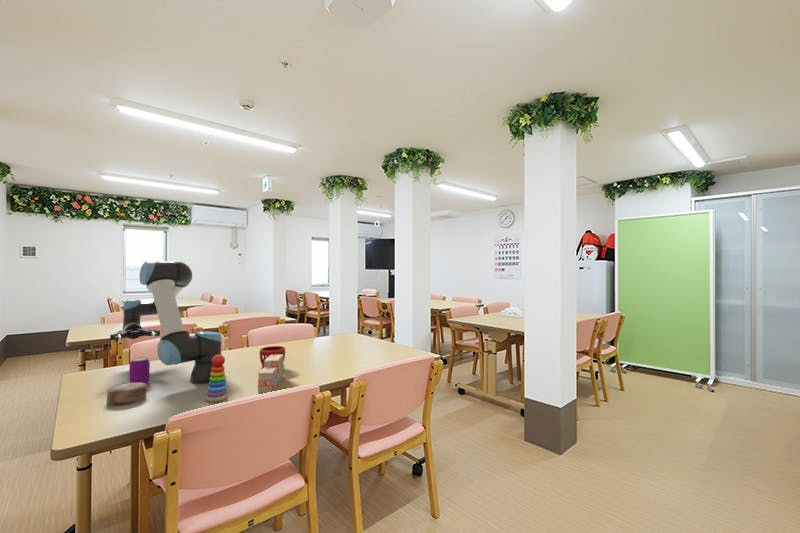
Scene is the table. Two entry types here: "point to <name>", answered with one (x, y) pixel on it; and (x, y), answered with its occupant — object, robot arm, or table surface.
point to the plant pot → (271, 353)
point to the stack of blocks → (271, 373)
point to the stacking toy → (217, 380)
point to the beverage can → (139, 370)
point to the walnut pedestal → (126, 394)
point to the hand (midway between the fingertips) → (137, 338)
